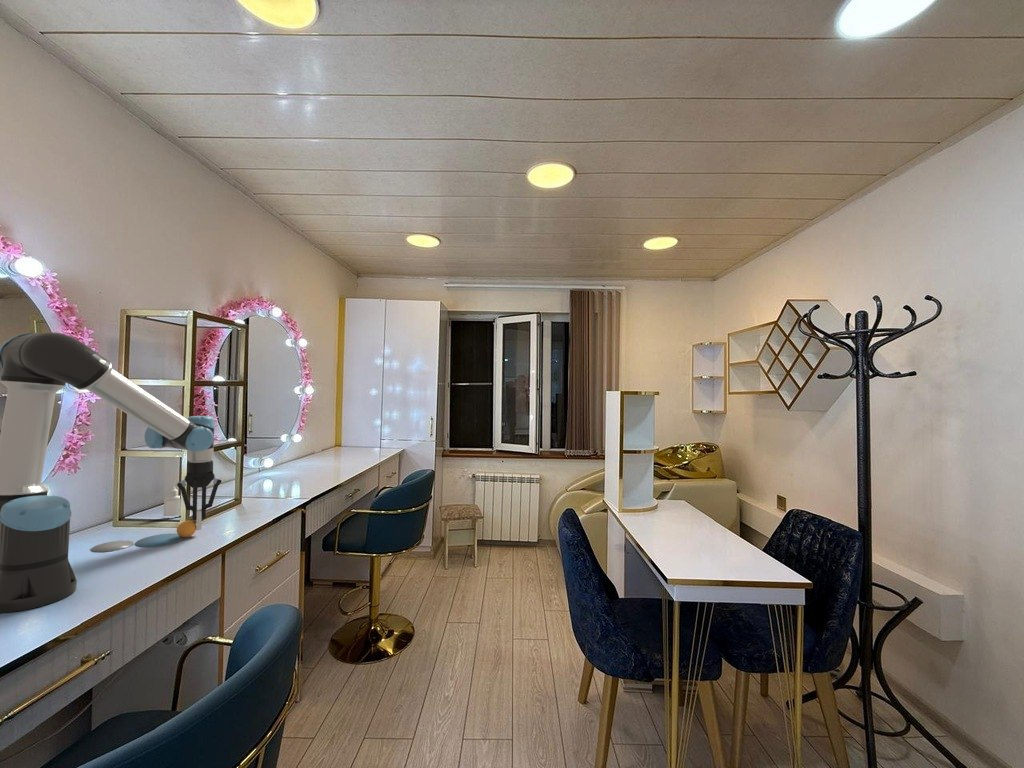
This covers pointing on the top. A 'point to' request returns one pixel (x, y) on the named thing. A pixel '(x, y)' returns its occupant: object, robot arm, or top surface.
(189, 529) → the ball
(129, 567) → the top surface
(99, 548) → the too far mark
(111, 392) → the robot arm
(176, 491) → the eye dropper bottle
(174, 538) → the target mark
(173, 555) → the top surface
